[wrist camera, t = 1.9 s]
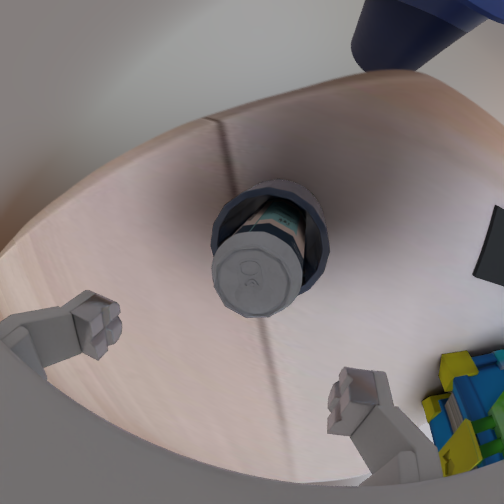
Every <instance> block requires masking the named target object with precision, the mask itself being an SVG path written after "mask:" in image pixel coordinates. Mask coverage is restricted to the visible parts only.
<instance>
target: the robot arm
mask: <svg viewBox="0 0 504 504" xmlns="http://www.w3.org/2000/svg"><path fill="white" fill-rule="evenodd" d="M120 313H121V312H120V305H119V304H118V303H117V302H115V301H113V300H110V299H108V298H106V297H104V296H101V295H99V294H97V293H94V292H92V291H90V290H85V291H83V292H82V293H81V294H79V295H78V296H76V297H75V298H73V299H72V300H70V301H69V302H68V303H66V304H65V305H63V306H62V307H61V308H60V307H59V306H57V307H51V308H46V309H40V310H35V311H29V312H24V313H18V314H12V315H10V316H8V317H7V318H5V319H4V320H3V321H1V322H0V504H504V460H501V461H498V462H496V463H493V464H490V465H487V466H484V467H481V468H478V469H474V470H471V471H467V472H463V473H460V474H456V475H451V476H447V477H443V472H442V467H441V462H440V458H439V453H438V449H437V447H436V446H435V445H434V444H433V443H432V442H431V441H430V440H429V439H428V438H427V437H426V436H425V434H424V433H423V432H422V431H421V430H420V429H419V428H418V427H417V426H416V425H415V424H414V423H413V422H412V421H411V420H410V419H409V418H408V417H407V416H406V415H405V414H404V413H403V412H402V411H401V410H400V409H399V407H396V406H394V404H393V400H392V395H391V391H390V387H389V383H388V379H387V375H386V373H385V372H382V371H373V370H371V371H370V370H363V369H356V368H350V367H344V368H343V369H342V370H341V372H340V374H339V381H338V382H336V383H334V385H333V387H332V389H331V391H330V394H329V398H328V409H329V411H330V412H331V414H330V415H329V417H328V422H327V433H328V434H335V435H344V436H351V437H350V438H351V440H352V441H353V443H354V445H355V446H356V448H357V450H358V451H359V453H360V455H361V456H362V458H363V460H364V461H365V463H366V465H367V466H368V468H369V470H370V471H371V473H372V475H371V476H370V477H369V478H367V479H366V480H365V481H363V482H362V483H361V484H360V485H359V486H358V487H357V486H351V487H350V486H324V485H311V484H301V483H293V482H286V481H279V480H273V479H267V478H262V477H257V476H252V475H248V474H243V473H239V472H235V471H231V470H227V469H224V468H220V467H217V466H213V465H210V464H207V463H203V462H200V461H197V460H194V459H191V458H189V457H186V456H183V455H180V454H178V453H175V452H172V451H170V450H167V449H165V448H163V447H160V446H158V445H155V444H153V443H151V442H149V441H146V440H144V439H142V438H140V437H138V436H136V435H134V434H132V433H130V432H128V431H126V430H124V429H122V428H120V427H118V426H116V425H114V424H112V423H111V422H109V421H107V420H105V419H103V418H102V417H100V416H98V415H97V414H95V413H93V412H92V411H90V410H88V409H87V408H85V407H84V406H82V405H81V404H79V403H77V402H76V401H74V400H73V399H71V398H70V397H69V396H67V395H66V394H64V393H63V392H61V391H60V390H59V389H57V388H56V387H55V386H53V385H52V384H51V383H49V382H48V381H47V375H46V373H45V370H44V367H47V366H50V365H52V364H55V363H58V362H60V361H63V360H66V359H68V358H71V357H73V356H76V355H78V354H81V353H84V354H86V355H88V356H90V357H92V358H94V359H96V360H98V361H99V359H100V358H101V357H102V356H103V355H104V354H105V353H106V352H107V351H108V346H109V345H112V344H115V343H116V342H117V341H118V340H119V337H120V335H121V333H122V322H121V320H120V318H119V317H118V315H119V314H120Z"/></svg>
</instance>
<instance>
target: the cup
mask: <svg viewBox="0 0 504 504" xmlns="http://www.w3.org/2000/svg"><path fill="white" fill-rule="evenodd" d="M273 199H284V200H287V201H290V202H291V203H293V204H295V205H296V206H297V207H298V208H299V209H300V210H301V212H302V213H303V215H304V218H305V222H306V231H305V246H304V260H303V272H302V285H301V288H300V291H299V293H298V295H300V294H302V293H304V292H306V291H308V290H309V289H310V288H311V287H312V286H313V285H314V284H315V282H316V281H317V280H318V279H319V278H320V276H321V275H322V274H323V272H324V270H325V267H326V263H327V260H328V256H329V253H330V247H329V240H328V233H327V227H326V223H325V219H324V214H323V210H322V208H321V206H320V205H319V203H318V201H317V199H316V198H315V197H314V195H313V194H312V193H311V192H310V191H309V190H307V189H306V188H305V187H303V186H301V185H300V184H298V183H296V182H292V181H289V180H282V179H276V180H269V181H265V182H261V183H259V184H257V185H255V186H253V187H251V188H250V189H248V190H246V191H244V192H242V193H241V194H239V195H238V196H237V197H235V198H234V199H232V200H231V201H229V202H228V203H227V204H225V205H224V207H223V209H222V210H221V212H220V214H219V215H218V217H217V219H216V220H215V222H214V224H213V230H212V238H211V249H212V253H213V257H214V256H215V253H216V251H217V250H218V248H219V247H220V246H221V245H222V244H223V243H224V242H225V241H226V240H227V239H229V238H230V237H231V236H232V235H233V234H234V233H235V232H236V231H237V230H238V229H239V228H240V227H241V226H242V225H243V224H244V223H245V222H246V221H247V220H248V219H249V218H250V217H251V216H252V215H253V214H254V213H255V211H256V210H257V209H258V207H259V206H260V205H261V204H263V203H264V202H266V201H269V200H273ZM298 295H297V296H298Z"/></svg>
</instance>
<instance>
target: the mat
mask: <svg viewBox="0 0 504 504" xmlns="http://www.w3.org/2000/svg"><path fill="white" fill-rule="evenodd" d="M473 276H474V277H477V278H480V279H483V280H486V281H489V282H492V283H495V284H499V285H502V286H504V209H502V208H500V207H499V206H496V205H495V208H494V212H493V216H492V219H491V223H490V227H489V230H488V233H487V236H486V240H485V243H484V246H483V249H482V251H481V254H480V257H479V260H478V262H477V265H476V268H475V270H474V273H473Z"/></svg>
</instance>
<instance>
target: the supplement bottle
mask: <svg viewBox="0 0 504 504" xmlns="http://www.w3.org/2000/svg"><path fill="white" fill-rule="evenodd" d="M305 231H306V222H305V218H304V215H303V213H302V212H301V210H300V209H299V208H298V207H297V206H296V205H295V204H293V203H291V202H290V201H287V200H284V199H273V200H269V201H266V202H264V203H263V204H261V205H260V206H259V207H258V209H257V210H256V211H255V213H254V214H253V215H252V216H251V217H250V218H249V219H248V220H247V221H246V222H245V223H244V224H243V225H242V226H241V227H240V228H239V229H238V230H237V231H236V232H235V233H234V234H233V235H232V236H231V237H230V238H229V239H227V240H226V241H225V242H224V243H223V244H222V245H221V246H220V247H219V248H218V250H217V251H216V253H215V256H214V258H213V262H212V279H213V283H214V288H215V290H216V291H217V293H218V295H219V297H220V298H221V300H222V302H223V303H224V305H225V306H226V307H227V308H229V309H231V310H233V311H234V312H236V313H238V314H240V315H242V316H244V317H245V318H260V317H270V316H272V315H273V314H276V313H278V312H280V311H282V310H283V309H285V308H286V307H288V306H289V305H290V304H291V303H292V302H293V301H294V300H295V298H296V297H297V295H298V293H299V291H300V288H301V285H302V272H303V260H304V246H305Z"/></svg>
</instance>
